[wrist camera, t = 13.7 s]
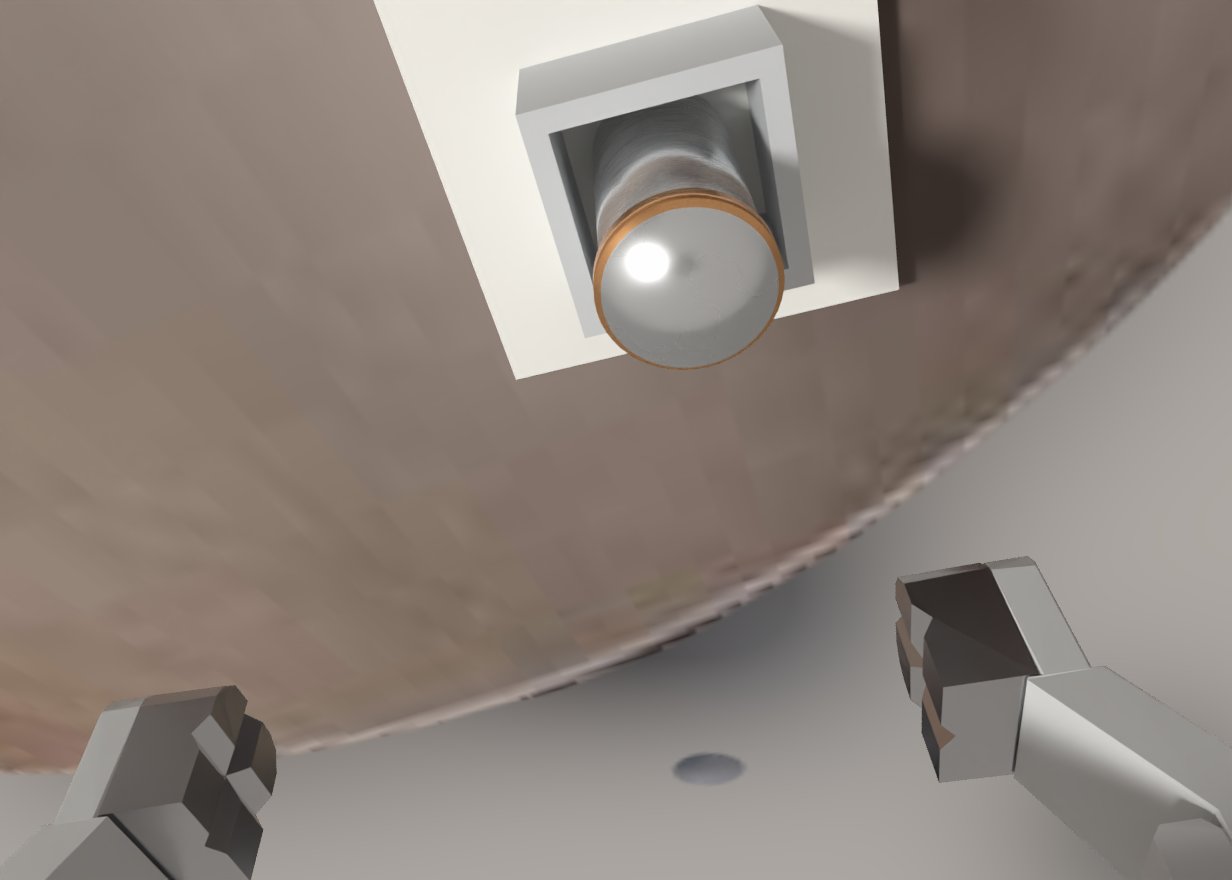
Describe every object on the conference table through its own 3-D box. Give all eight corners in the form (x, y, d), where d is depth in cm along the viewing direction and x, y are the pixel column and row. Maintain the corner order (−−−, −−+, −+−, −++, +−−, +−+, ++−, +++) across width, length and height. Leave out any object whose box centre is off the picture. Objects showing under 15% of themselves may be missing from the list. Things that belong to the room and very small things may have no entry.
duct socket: (516, 366, 42) (512, 445, 37) (370, -28, 32) (341, 18, 28) (892, 277, 40) (933, 349, 36) (857, -167, 30) (907, -142, 26)
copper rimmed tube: (568, 103, 34) (571, 231, 26) (721, 62, 33) (770, 180, 26) (607, 240, 37) (619, 391, 29) (746, 205, 37) (797, 349, 29)
